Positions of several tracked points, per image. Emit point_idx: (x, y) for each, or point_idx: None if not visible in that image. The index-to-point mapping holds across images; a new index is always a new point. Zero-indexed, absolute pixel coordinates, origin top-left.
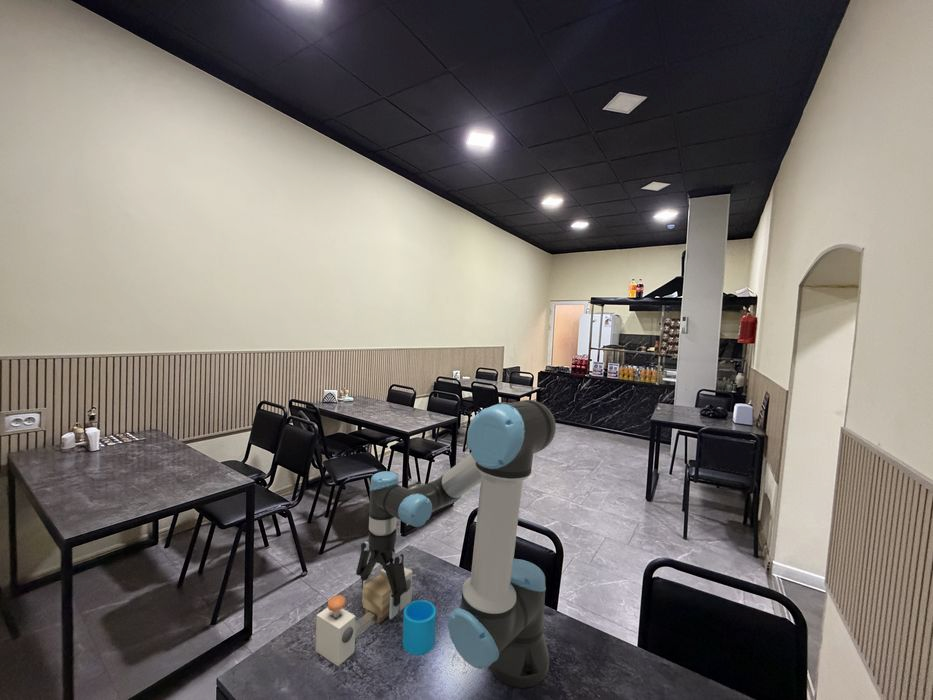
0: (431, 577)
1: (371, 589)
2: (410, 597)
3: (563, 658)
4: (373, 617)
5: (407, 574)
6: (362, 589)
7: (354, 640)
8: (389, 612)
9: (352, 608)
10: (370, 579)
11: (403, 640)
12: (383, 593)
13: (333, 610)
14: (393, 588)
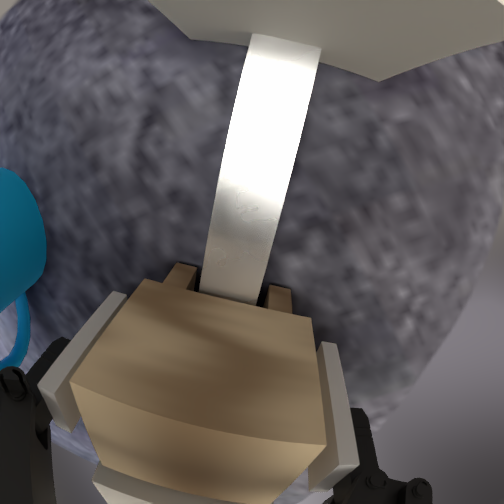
0: None
1: (218, 432)
2: None
3: None
4: (202, 270)
5: (105, 498)
6: (357, 409)
7: (168, 15)
8: (111, 312)
9: (382, 311)
10: (313, 478)
11: (5, 189)
12: (81, 399)
13: None
14: (7, 423)
